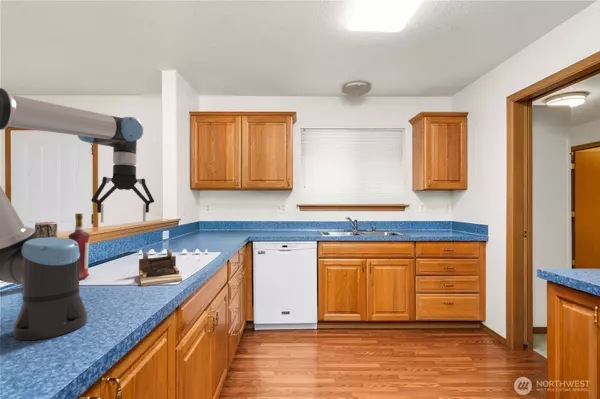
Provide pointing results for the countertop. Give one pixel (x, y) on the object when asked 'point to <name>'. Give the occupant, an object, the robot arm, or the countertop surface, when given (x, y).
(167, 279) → the cradle
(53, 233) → the paper tube
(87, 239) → the liquor
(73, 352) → the countertop surface
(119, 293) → the countertop surface
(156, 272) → the clothes iron
